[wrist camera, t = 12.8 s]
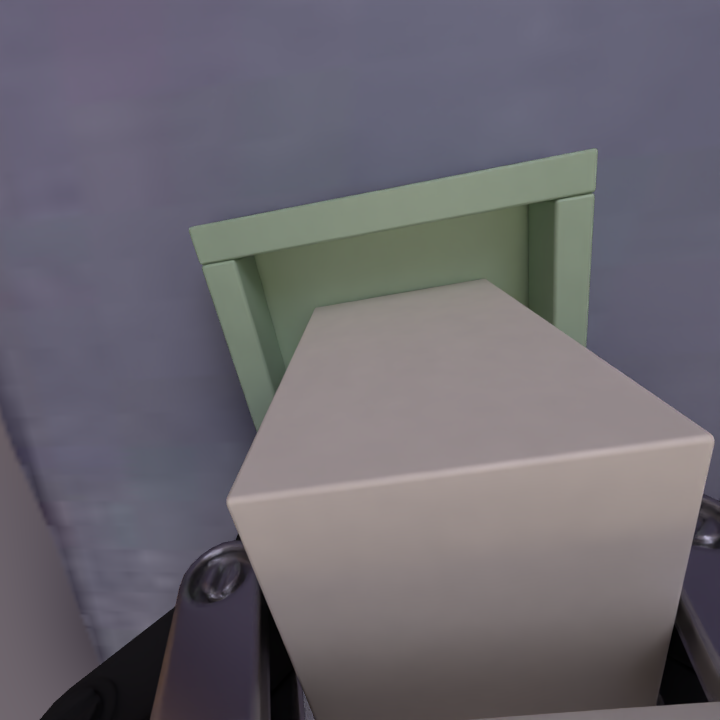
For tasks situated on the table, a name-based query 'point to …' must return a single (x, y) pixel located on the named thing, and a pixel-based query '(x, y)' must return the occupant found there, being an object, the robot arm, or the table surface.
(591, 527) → the tall beige box
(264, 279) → the green rectangular tray
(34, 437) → the table surface
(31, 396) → the table surface
